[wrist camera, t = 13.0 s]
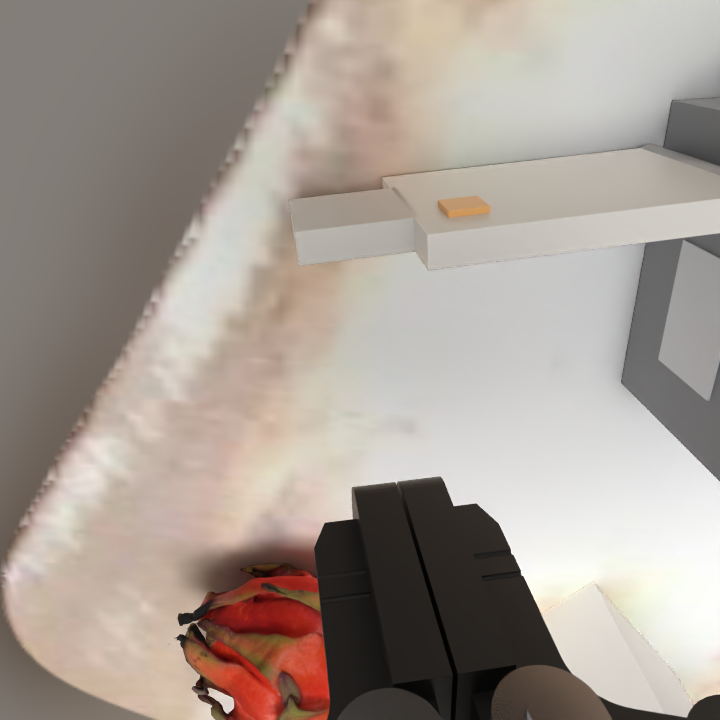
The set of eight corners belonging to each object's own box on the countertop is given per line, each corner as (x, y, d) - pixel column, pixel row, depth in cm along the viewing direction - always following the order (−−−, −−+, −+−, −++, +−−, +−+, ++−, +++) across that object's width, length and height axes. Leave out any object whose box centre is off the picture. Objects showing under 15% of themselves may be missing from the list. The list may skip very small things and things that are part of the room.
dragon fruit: (378, 629, 37) (204, 524, 34) (477, 624, 31) (272, 493, 27) (322, 795, 32) (112, 691, 29) (425, 832, 26) (168, 703, 22)
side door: (664, 139, 24) (802, 181, 18) (659, 175, 24) (791, 227, 18) (285, 182, 22) (297, 242, 16) (290, 218, 23) (303, 290, 17)
